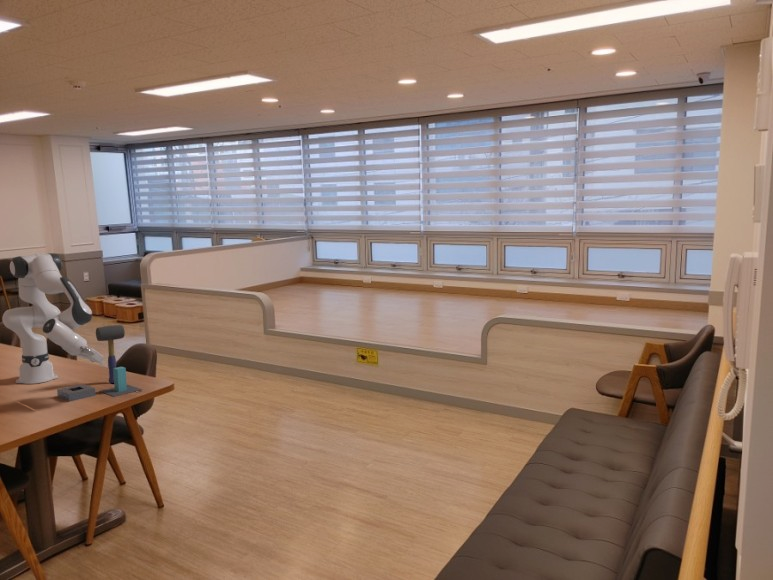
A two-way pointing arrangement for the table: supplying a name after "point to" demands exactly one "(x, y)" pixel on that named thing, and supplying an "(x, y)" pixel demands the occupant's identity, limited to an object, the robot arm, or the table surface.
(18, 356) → the table surface
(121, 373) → the peg
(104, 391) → the pad
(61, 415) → the table surface
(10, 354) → the table surface
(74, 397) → the socket base
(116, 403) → the table surface
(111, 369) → the rubber mallet
